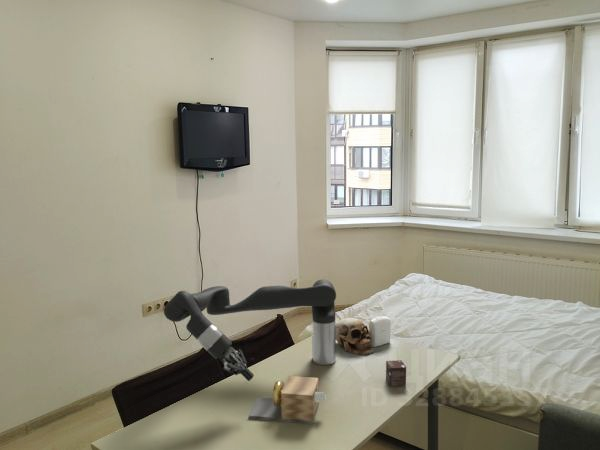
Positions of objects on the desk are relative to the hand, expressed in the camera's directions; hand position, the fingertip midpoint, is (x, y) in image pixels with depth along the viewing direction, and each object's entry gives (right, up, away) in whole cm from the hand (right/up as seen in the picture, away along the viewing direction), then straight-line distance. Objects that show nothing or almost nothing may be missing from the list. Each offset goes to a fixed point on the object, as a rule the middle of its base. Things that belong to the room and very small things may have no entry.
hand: (251, 378), depth 158 cm
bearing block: (+11, -11, 0) cm, 15 cm away
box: (+51, -8, +18) cm, 55 cm away
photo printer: (+51, -2, +54) cm, 75 cm away
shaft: (+16, -9, -1) cm, 18 cm away
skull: (+40, -3, +51) cm, 65 cm away
